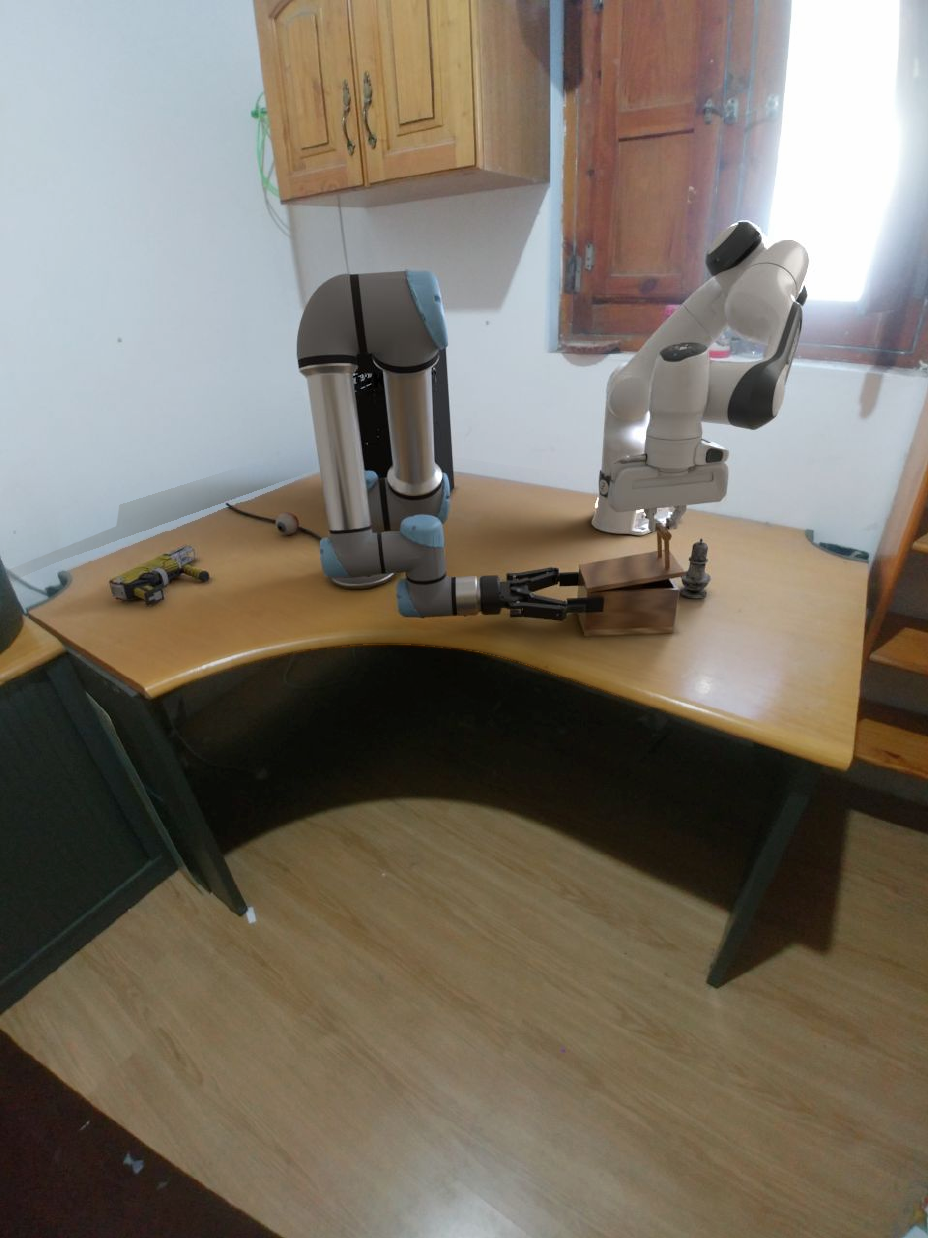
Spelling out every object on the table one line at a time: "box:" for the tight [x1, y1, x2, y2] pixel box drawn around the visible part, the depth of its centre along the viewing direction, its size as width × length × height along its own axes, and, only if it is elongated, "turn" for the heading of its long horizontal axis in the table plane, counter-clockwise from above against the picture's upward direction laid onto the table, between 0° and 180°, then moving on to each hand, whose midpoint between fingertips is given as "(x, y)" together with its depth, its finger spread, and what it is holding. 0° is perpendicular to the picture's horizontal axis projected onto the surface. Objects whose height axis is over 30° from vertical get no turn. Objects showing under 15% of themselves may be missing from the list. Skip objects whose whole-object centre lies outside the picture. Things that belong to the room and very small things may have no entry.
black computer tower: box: [353, 347, 455, 531], centre depth 168 cm, size 38×20×45 cm, turn 167°
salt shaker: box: [679, 537, 712, 599], centre depth 122 cm, size 6×6×12 cm
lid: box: [578, 521, 685, 593], centre depth 109 cm, size 17×10×8 cm, turn 89°
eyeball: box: [275, 511, 300, 536], centre depth 163 cm, size 6×6×6 cm
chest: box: [576, 569, 680, 637], centre depth 114 cm, size 16×10×9 cm, turn 89°
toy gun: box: [108, 544, 210, 607], centre depth 141 cm, size 5×24×15 cm
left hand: (597, 590), depth 113 cm, fingers closed on chest, 10 cm apart
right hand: (662, 529), depth 107 cm, fingers closed on lid, 2 cm apart
